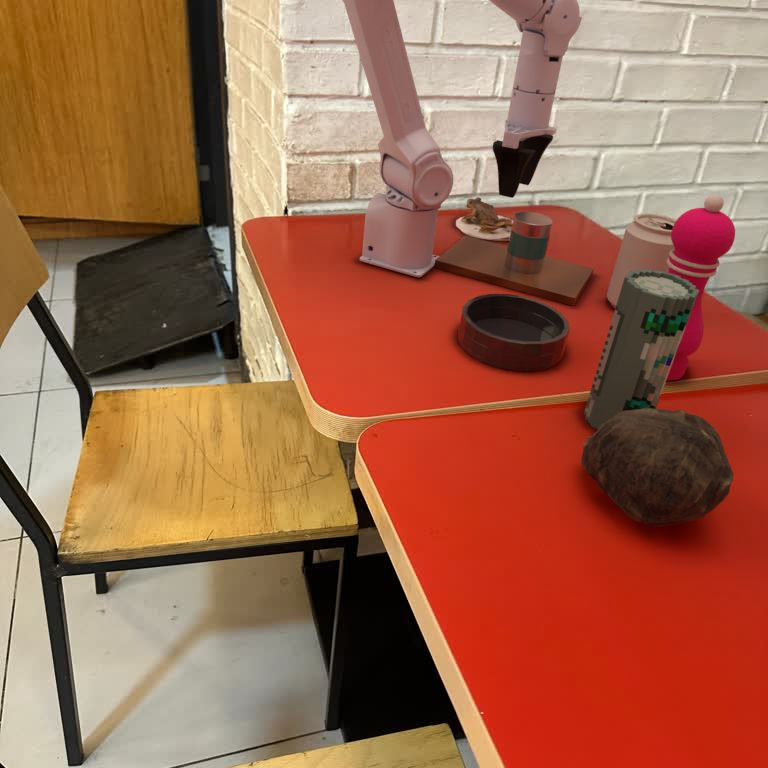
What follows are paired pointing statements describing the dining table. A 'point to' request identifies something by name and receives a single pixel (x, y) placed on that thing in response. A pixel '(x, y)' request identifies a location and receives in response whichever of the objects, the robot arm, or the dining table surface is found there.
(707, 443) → the rock
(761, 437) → the dining table surface
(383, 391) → the dining table surface
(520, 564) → the dining table surface
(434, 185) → the robot arm
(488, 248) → the board
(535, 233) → the tin can
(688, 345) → the pepper mill
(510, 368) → the pan
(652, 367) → the can
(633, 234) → the can
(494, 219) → the frog figurine
